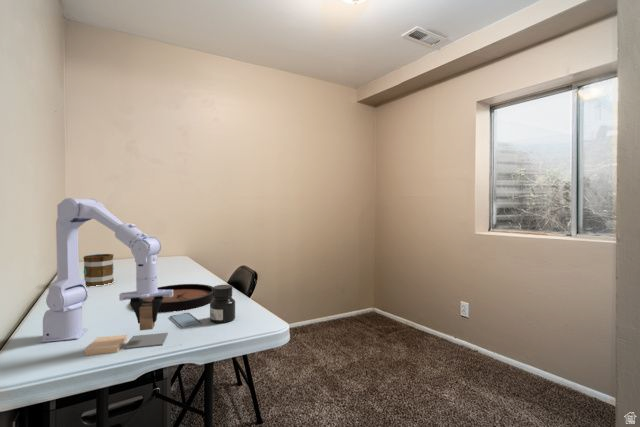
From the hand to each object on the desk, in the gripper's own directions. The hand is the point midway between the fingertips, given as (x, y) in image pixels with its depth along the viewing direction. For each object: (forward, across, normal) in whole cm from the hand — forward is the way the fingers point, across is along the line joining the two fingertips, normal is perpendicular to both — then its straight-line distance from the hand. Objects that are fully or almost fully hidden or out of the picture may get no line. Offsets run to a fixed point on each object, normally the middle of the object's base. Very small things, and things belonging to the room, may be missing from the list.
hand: (147, 321), depth 101 cm
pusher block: (+2, 0, 0) cm, 2 cm away
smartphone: (+7, +9, +16) cm, 20 cm away
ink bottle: (+6, +22, +14) cm, 27 cm away
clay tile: (+5, -10, +3) cm, 12 cm away
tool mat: (+6, 0, 0) cm, 6 cm away
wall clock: (+6, +3, +44) cm, 45 cm away
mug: (+6, -43, +91) cm, 101 cm away
